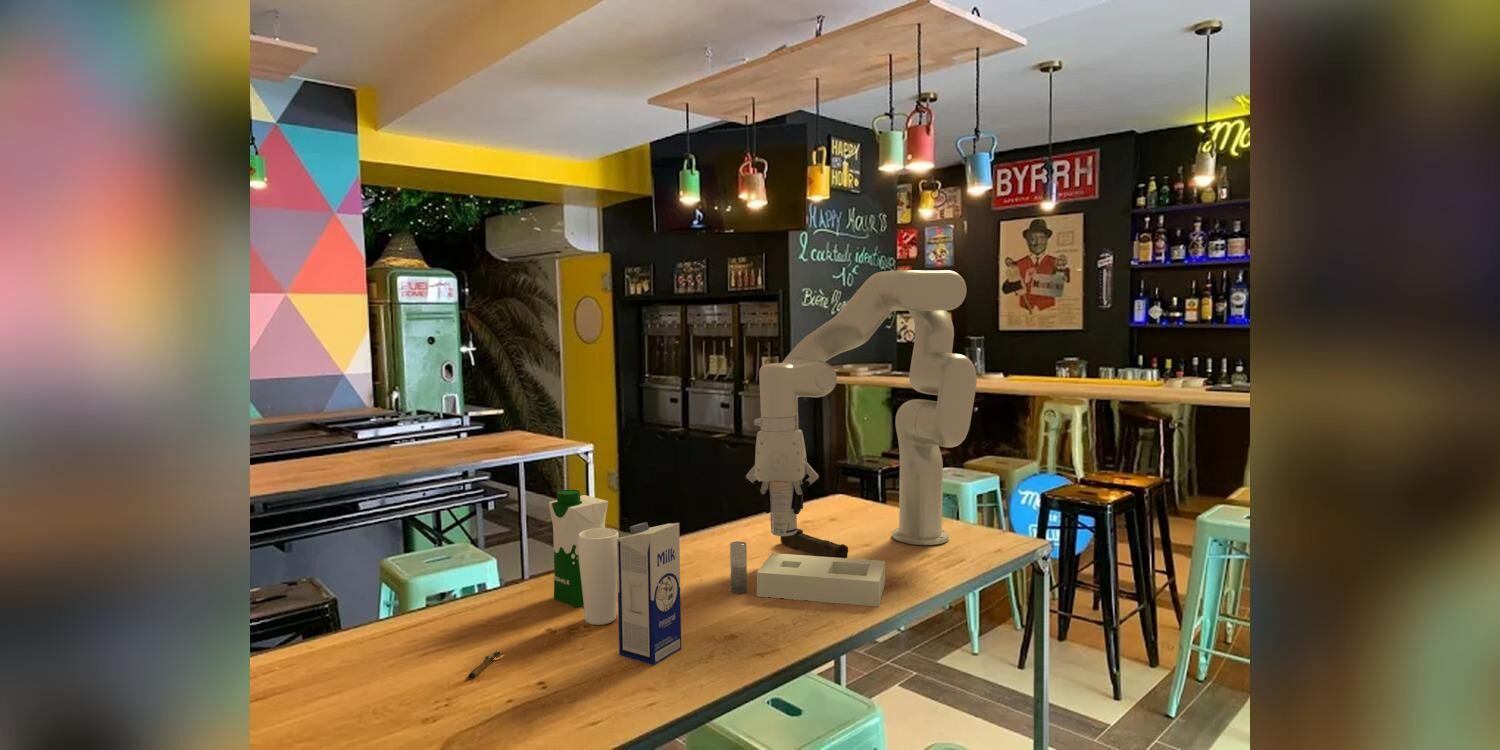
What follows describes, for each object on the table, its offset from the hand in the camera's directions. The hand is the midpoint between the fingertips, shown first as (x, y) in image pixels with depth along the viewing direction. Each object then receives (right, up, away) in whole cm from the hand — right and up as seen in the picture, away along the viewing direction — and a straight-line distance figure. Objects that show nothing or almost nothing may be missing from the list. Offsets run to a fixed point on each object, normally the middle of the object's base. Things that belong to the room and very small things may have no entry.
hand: (783, 511), depth 165 cm
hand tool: (+6, -11, +8) cm, 15 cm away
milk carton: (-22, -15, -41) cm, 49 cm away
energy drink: (0, -5, 0) cm, 5 cm away
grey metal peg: (-9, -12, -15) cm, 21 cm away
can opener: (-46, -16, -46) cm, 66 cm away
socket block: (+7, -12, -15) cm, 20 cm away
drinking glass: (-32, -14, -28) cm, 45 cm away
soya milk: (-38, -13, -18) cm, 44 cm away
